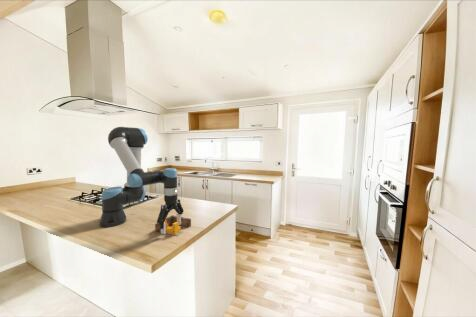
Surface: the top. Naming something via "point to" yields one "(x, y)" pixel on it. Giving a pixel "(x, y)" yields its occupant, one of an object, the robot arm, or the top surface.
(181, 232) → the pad
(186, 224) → the brown wooden corner wall
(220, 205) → the top surface
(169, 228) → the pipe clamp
